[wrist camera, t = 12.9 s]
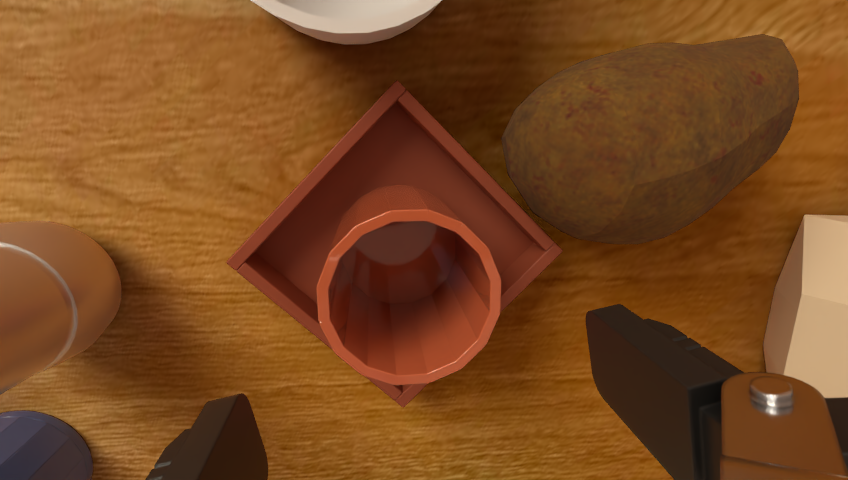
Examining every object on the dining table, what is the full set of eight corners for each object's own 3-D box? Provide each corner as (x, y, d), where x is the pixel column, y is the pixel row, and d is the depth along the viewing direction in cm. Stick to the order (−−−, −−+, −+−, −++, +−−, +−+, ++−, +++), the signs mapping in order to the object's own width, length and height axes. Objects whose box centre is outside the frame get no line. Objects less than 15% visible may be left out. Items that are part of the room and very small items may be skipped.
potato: (708, 207, 26) (868, 244, 18) (496, 241, 25) (558, 296, 17) (709, 44, 24) (890, -2, 16) (479, 74, 23) (540, 42, 15)
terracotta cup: (308, 250, 24) (277, 306, 16) (396, 156, 23) (409, 169, 16) (400, 329, 25) (412, 417, 18) (485, 244, 25) (537, 295, 17)
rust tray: (240, 249, 24) (225, 262, 22) (394, 84, 23) (396, 79, 21) (400, 383, 27) (403, 408, 24) (545, 239, 26) (563, 250, 23)
